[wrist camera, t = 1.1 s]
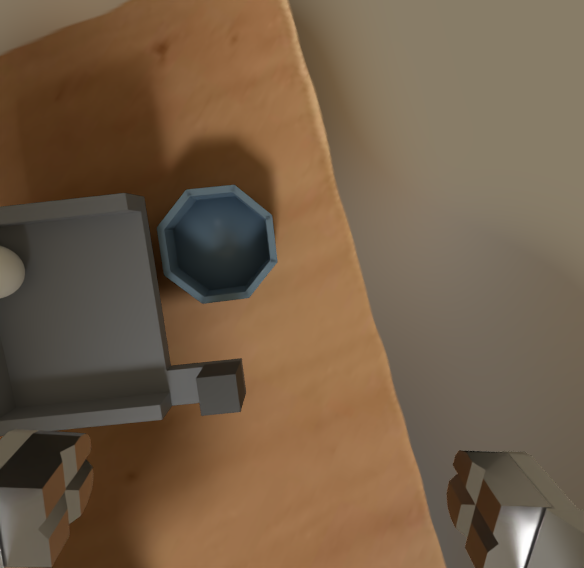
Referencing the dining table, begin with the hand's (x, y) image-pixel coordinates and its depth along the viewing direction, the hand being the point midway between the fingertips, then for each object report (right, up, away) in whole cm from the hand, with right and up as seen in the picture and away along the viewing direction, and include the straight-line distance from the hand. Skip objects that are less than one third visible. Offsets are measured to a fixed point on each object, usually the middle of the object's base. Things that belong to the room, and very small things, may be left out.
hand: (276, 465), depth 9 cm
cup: (-7, +8, +32) cm, 33 cm away
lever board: (-14, +2, +24) cm, 28 cm away
